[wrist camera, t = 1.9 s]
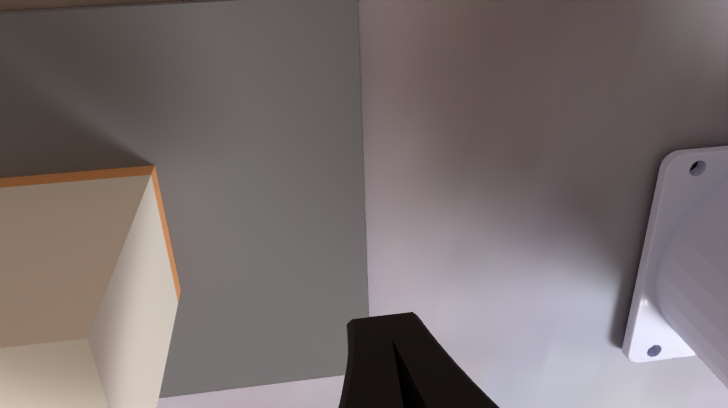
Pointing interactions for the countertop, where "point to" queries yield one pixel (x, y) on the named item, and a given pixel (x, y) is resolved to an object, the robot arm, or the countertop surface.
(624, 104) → the countertop surface
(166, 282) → the tall block
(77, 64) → the mat
